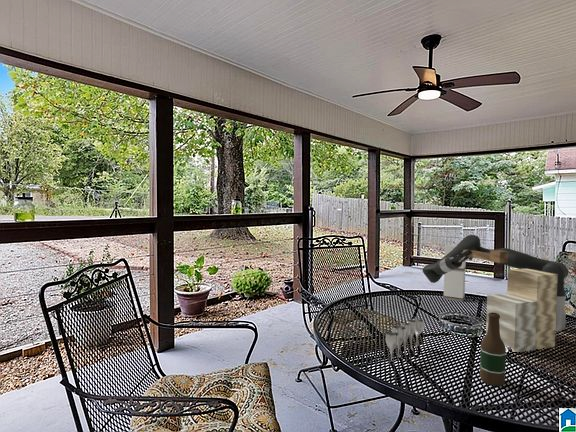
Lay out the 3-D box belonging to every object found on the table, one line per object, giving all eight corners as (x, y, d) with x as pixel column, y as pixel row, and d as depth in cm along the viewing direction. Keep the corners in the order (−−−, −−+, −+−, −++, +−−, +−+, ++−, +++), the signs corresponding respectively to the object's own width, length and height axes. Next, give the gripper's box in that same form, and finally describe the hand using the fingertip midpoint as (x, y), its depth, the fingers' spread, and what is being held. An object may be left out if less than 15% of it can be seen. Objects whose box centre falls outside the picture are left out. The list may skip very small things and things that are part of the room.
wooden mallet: (469, 255, 181) (469, 245, 181) (507, 262, 160) (508, 251, 160) (461, 255, 180) (461, 245, 179) (499, 263, 159) (499, 252, 159)
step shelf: (524, 335, 169) (526, 268, 168) (554, 346, 156) (557, 274, 155) (485, 340, 161) (487, 271, 160) (514, 353, 148) (516, 277, 147)
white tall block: (464, 297, 236) (466, 245, 235) (462, 301, 227) (464, 247, 226) (446, 295, 242) (447, 244, 241) (443, 298, 233) (444, 245, 232)
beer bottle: (474, 375, 128) (476, 310, 127) (495, 375, 129) (497, 309, 128) (488, 387, 121) (490, 317, 120) (510, 386, 121) (512, 316, 120)
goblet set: (395, 369, 133) (396, 334, 133) (381, 364, 137) (382, 330, 137) (426, 347, 153) (426, 317, 153) (413, 344, 157) (414, 314, 157)
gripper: (463, 269, 190) (487, 257, 176) (442, 270, 186) (465, 258, 172) (458, 256, 194) (481, 243, 179) (437, 257, 189) (459, 244, 175)
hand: (473, 251), depth 175 cm, fingers closed on wooden mallet, 3 cm apart
